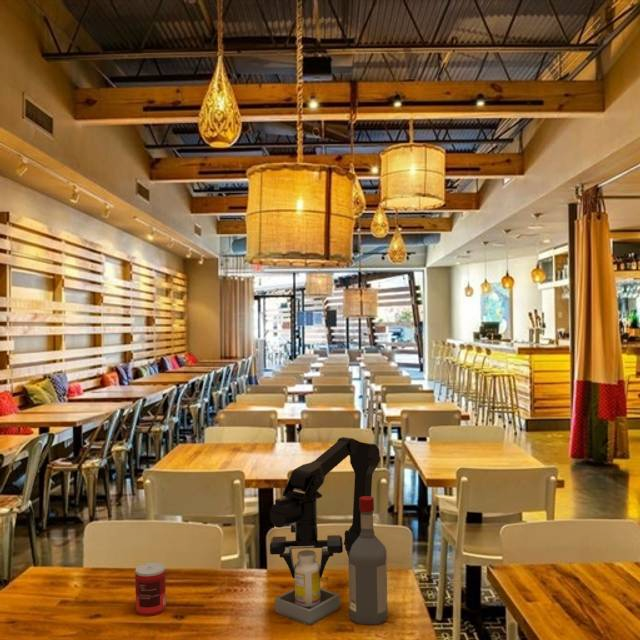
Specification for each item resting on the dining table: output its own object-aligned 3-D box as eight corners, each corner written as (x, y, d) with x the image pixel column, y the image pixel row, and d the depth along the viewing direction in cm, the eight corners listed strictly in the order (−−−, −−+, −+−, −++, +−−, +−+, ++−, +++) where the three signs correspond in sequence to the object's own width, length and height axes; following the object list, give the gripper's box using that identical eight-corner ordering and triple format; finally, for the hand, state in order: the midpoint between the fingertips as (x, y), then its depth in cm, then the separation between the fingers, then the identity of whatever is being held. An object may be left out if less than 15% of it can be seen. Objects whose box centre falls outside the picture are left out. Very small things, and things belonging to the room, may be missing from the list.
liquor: (388, 609, 163) (385, 493, 163) (385, 626, 154) (383, 503, 154) (353, 607, 165) (350, 492, 165) (348, 623, 156) (346, 502, 156)
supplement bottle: (320, 596, 167) (319, 548, 167) (321, 607, 161) (320, 557, 161) (295, 597, 167) (293, 549, 167) (294, 608, 160) (293, 558, 160)
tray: (305, 596, 172) (305, 583, 172) (340, 608, 165) (339, 594, 165) (275, 612, 163) (274, 598, 163) (310, 625, 155) (309, 611, 155)
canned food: (156, 600, 171) (155, 560, 171) (171, 609, 166) (171, 567, 166) (130, 609, 166) (129, 568, 166) (145, 619, 160) (144, 576, 160)
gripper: (340, 507, 172) (342, 564, 172) (272, 509, 172) (273, 566, 172) (342, 520, 161) (343, 581, 161) (269, 522, 161) (270, 583, 161)
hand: (307, 577), depth 164 cm, fingers closed on supplement bottle, 7 cm apart
